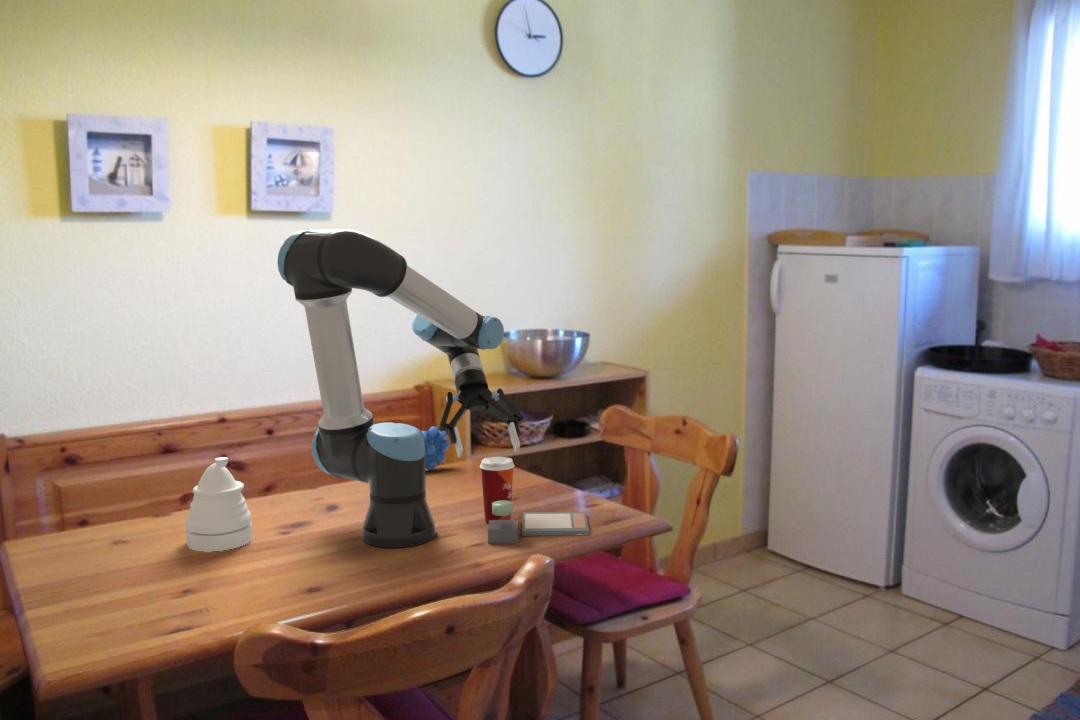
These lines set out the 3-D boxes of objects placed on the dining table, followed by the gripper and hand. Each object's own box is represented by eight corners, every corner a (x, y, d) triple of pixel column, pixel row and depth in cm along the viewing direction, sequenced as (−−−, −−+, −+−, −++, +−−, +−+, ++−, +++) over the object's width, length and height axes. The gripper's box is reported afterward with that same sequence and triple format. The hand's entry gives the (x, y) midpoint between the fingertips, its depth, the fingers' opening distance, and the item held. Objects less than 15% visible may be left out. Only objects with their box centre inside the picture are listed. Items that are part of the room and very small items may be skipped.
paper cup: (514, 527, 195) (513, 464, 194) (479, 527, 196) (477, 464, 194) (516, 516, 203) (515, 455, 201) (482, 516, 203) (481, 455, 201)
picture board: (522, 535, 190) (522, 530, 190) (523, 516, 203) (523, 511, 203) (588, 534, 190) (588, 529, 190) (585, 516, 203) (585, 511, 203)
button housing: (488, 543, 185) (487, 529, 185) (489, 533, 191) (489, 520, 191) (517, 542, 186) (517, 528, 185) (517, 533, 191) (517, 519, 191)
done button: (491, 516, 186) (491, 506, 185) (492, 509, 190) (492, 500, 190) (513, 515, 186) (513, 506, 185) (513, 509, 190) (513, 500, 190)
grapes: (442, 464, 251) (441, 421, 249) (453, 469, 245) (452, 425, 243) (404, 470, 245) (402, 426, 243) (414, 475, 239) (413, 431, 237)
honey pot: (265, 538, 190) (261, 454, 187) (213, 556, 179) (208, 468, 177) (226, 528, 197) (221, 447, 194) (174, 544, 186) (168, 459, 184)
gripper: (514, 382, 225) (536, 455, 213) (416, 389, 216) (433, 465, 204) (521, 364, 219) (544, 437, 207) (421, 370, 210) (439, 447, 199)
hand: (489, 451), depth 206 cm, fingers open, 13 cm apart
